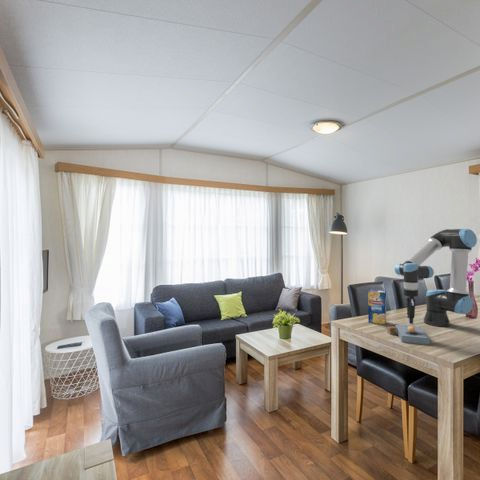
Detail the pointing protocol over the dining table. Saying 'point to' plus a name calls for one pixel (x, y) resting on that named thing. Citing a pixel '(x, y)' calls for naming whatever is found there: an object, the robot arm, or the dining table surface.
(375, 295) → the blue food box
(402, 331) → the gray slab with hole
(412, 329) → the ball
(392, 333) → the walnut block
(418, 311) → the dining table surface
